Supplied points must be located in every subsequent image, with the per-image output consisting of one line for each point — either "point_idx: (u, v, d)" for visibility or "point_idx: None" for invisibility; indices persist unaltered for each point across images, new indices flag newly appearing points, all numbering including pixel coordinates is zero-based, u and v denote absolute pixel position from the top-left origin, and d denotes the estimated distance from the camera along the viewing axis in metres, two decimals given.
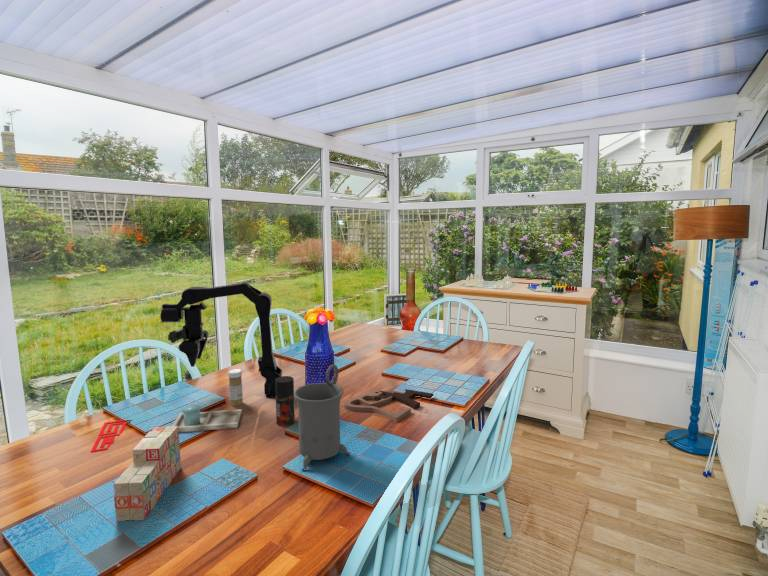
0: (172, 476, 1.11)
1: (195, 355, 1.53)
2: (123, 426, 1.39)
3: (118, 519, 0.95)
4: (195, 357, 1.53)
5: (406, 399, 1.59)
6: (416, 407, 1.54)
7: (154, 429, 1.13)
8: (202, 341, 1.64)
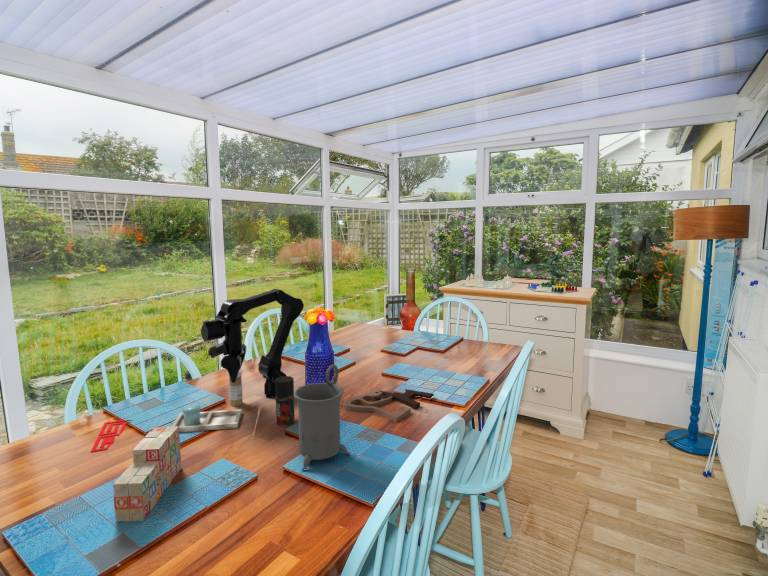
0: (172, 476, 1.11)
1: (236, 371, 1.48)
2: (123, 426, 1.39)
3: (118, 520, 0.95)
4: (236, 373, 1.48)
5: (406, 399, 1.59)
6: (416, 407, 1.54)
7: (154, 429, 1.13)
8: (241, 355, 1.59)
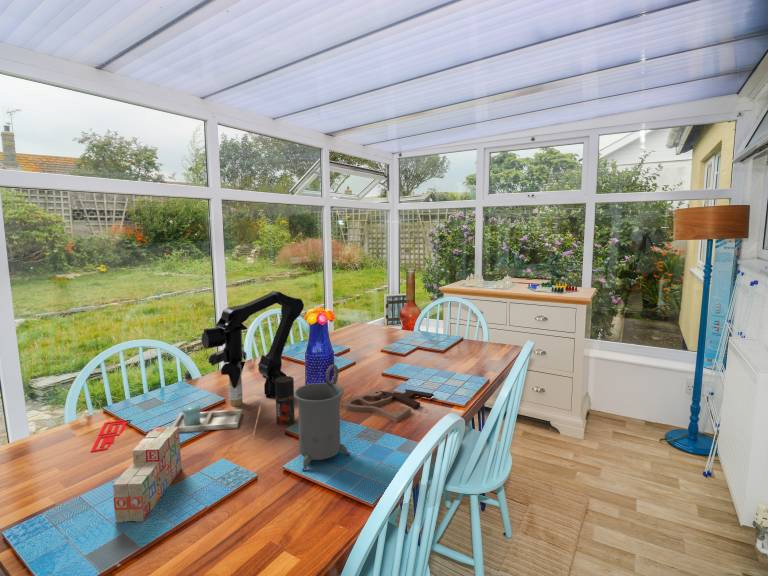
0: (172, 477, 1.10)
1: (237, 376, 1.50)
2: (123, 426, 1.39)
3: (117, 520, 0.94)
4: (237, 378, 1.51)
5: (406, 399, 1.59)
6: (416, 407, 1.54)
7: (154, 430, 1.12)
8: (240, 364, 1.57)
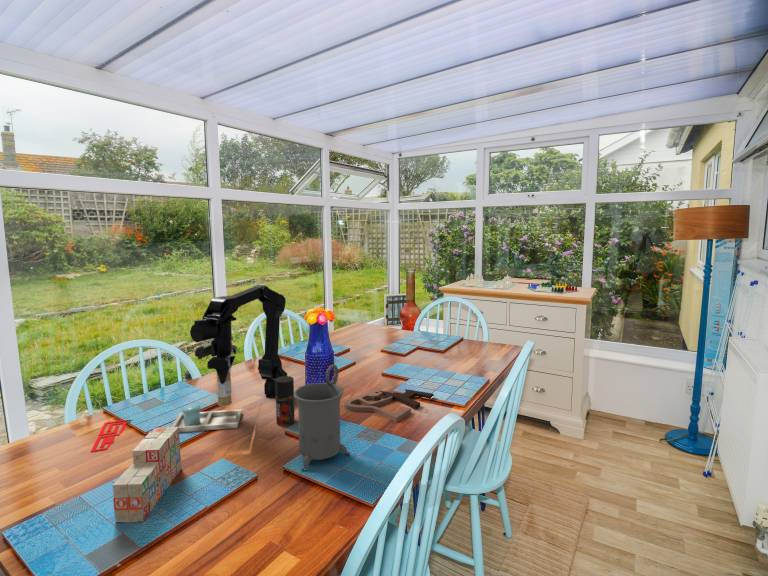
0: (172, 477, 1.10)
1: (226, 371, 1.39)
2: (123, 426, 1.39)
3: (117, 520, 0.94)
4: (226, 373, 1.40)
5: (406, 399, 1.59)
6: (416, 407, 1.54)
7: (154, 430, 1.12)
8: (229, 359, 1.46)
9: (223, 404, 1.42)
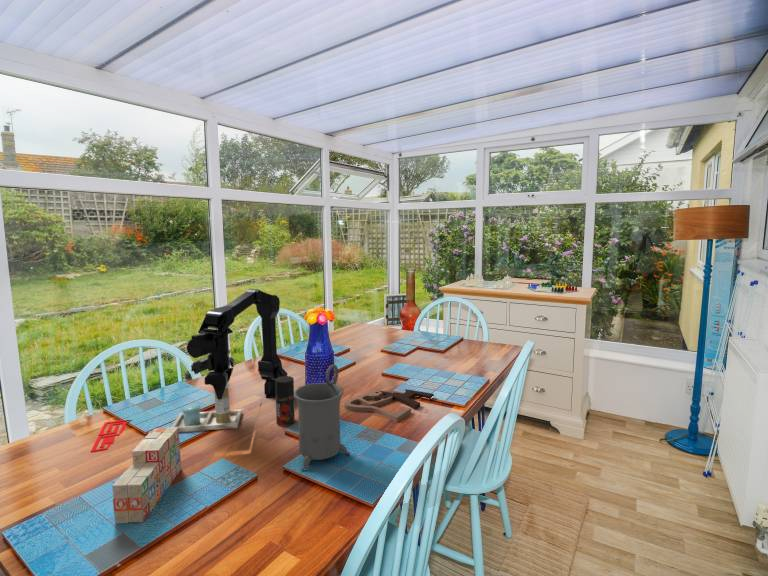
0: (172, 478, 1.10)
1: (223, 387, 1.35)
2: (123, 426, 1.39)
3: (117, 521, 0.94)
4: (223, 389, 1.36)
5: (406, 399, 1.59)
6: (416, 407, 1.54)
7: (154, 430, 1.12)
8: (227, 371, 1.43)
9: (221, 421, 1.40)
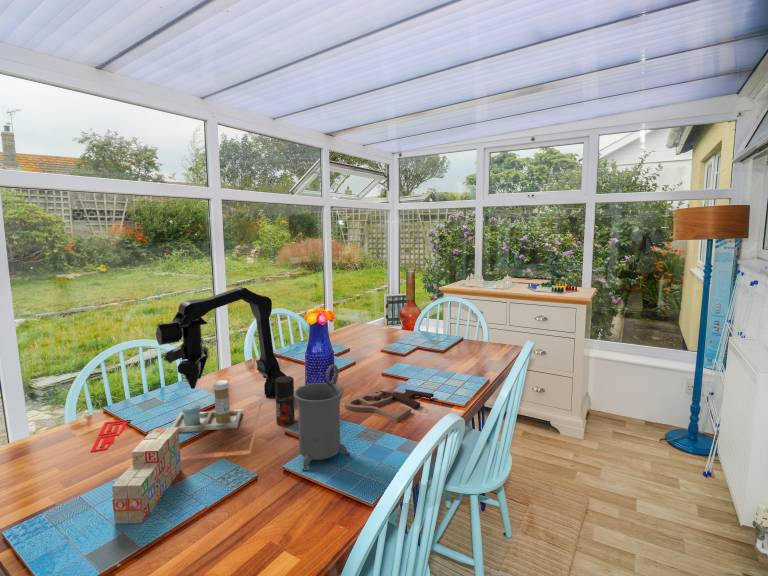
0: (172, 478, 1.10)
1: (196, 376, 1.39)
2: (123, 426, 1.39)
3: (116, 522, 0.94)
4: (196, 378, 1.39)
5: (406, 399, 1.59)
6: (416, 407, 1.54)
7: (154, 431, 1.12)
8: (202, 359, 1.49)
9: (221, 421, 1.40)
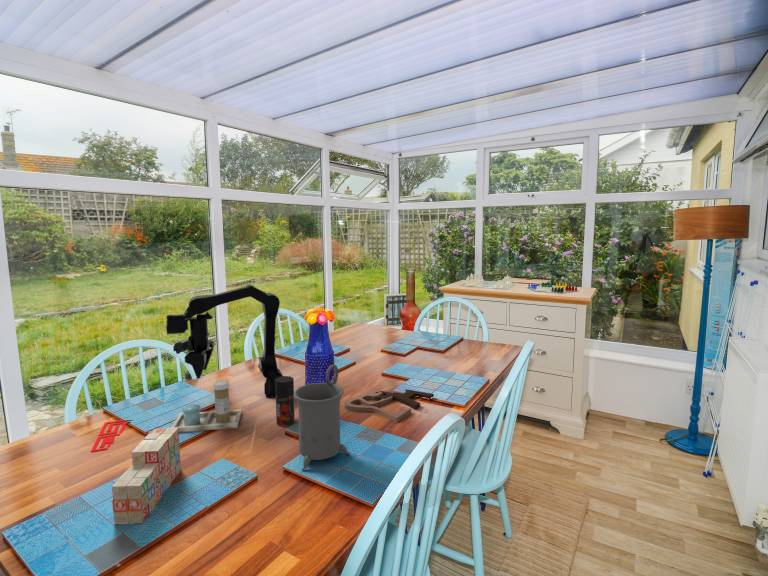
0: (172, 479, 1.10)
1: (201, 367, 1.48)
2: (123, 426, 1.39)
3: (116, 522, 0.94)
4: (201, 369, 1.49)
5: (406, 399, 1.59)
6: (416, 407, 1.54)
7: (154, 431, 1.12)
8: (208, 351, 1.59)
9: (221, 421, 1.40)
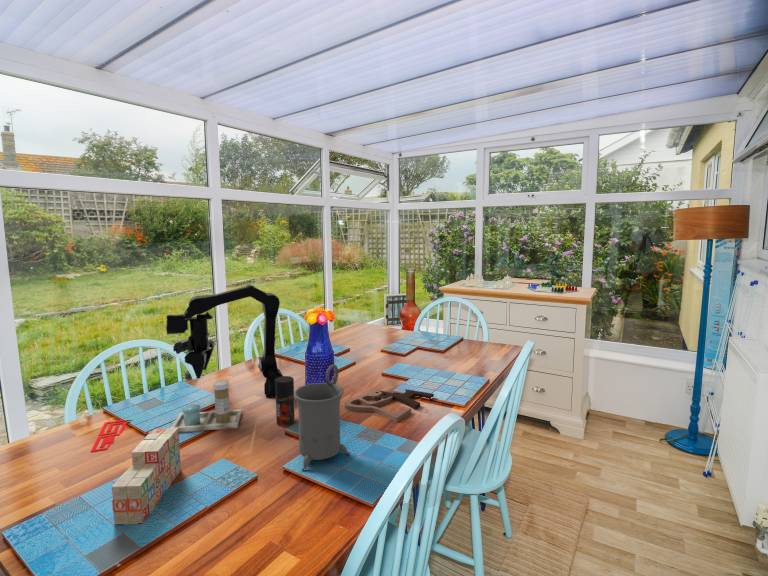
0: (172, 479, 1.10)
1: (201, 367, 1.48)
2: (123, 426, 1.39)
3: (116, 523, 0.94)
4: (201, 369, 1.49)
5: (406, 399, 1.59)
6: (416, 407, 1.54)
7: (154, 431, 1.12)
8: (208, 351, 1.59)
9: (221, 421, 1.40)
